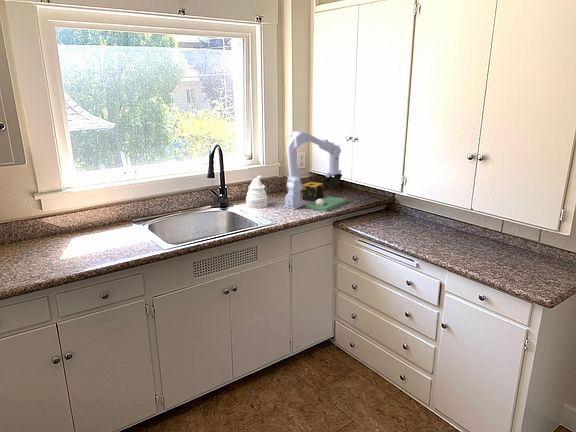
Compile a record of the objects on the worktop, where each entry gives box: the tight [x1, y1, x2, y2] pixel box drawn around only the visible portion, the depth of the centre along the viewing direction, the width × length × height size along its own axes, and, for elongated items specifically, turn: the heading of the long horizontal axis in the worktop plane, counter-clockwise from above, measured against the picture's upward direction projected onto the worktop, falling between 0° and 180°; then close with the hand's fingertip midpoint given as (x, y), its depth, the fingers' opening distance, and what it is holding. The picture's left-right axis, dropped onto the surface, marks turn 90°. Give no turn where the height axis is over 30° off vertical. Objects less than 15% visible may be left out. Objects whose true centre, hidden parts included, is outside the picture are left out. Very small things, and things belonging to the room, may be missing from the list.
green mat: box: [305, 195, 348, 212], centre depth 258 cm, size 24×14×2 cm, turn 143°
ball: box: [316, 199, 324, 206], centre depth 253 cm, size 5×5×5 cm
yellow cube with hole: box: [301, 181, 324, 202], centre depth 270 cm, size 10×10×10 cm
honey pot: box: [245, 175, 268, 209], centre depth 256 cm, size 13×13×18 cm
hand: (333, 186), depth 263 cm, fingers open, 7 cm apart
